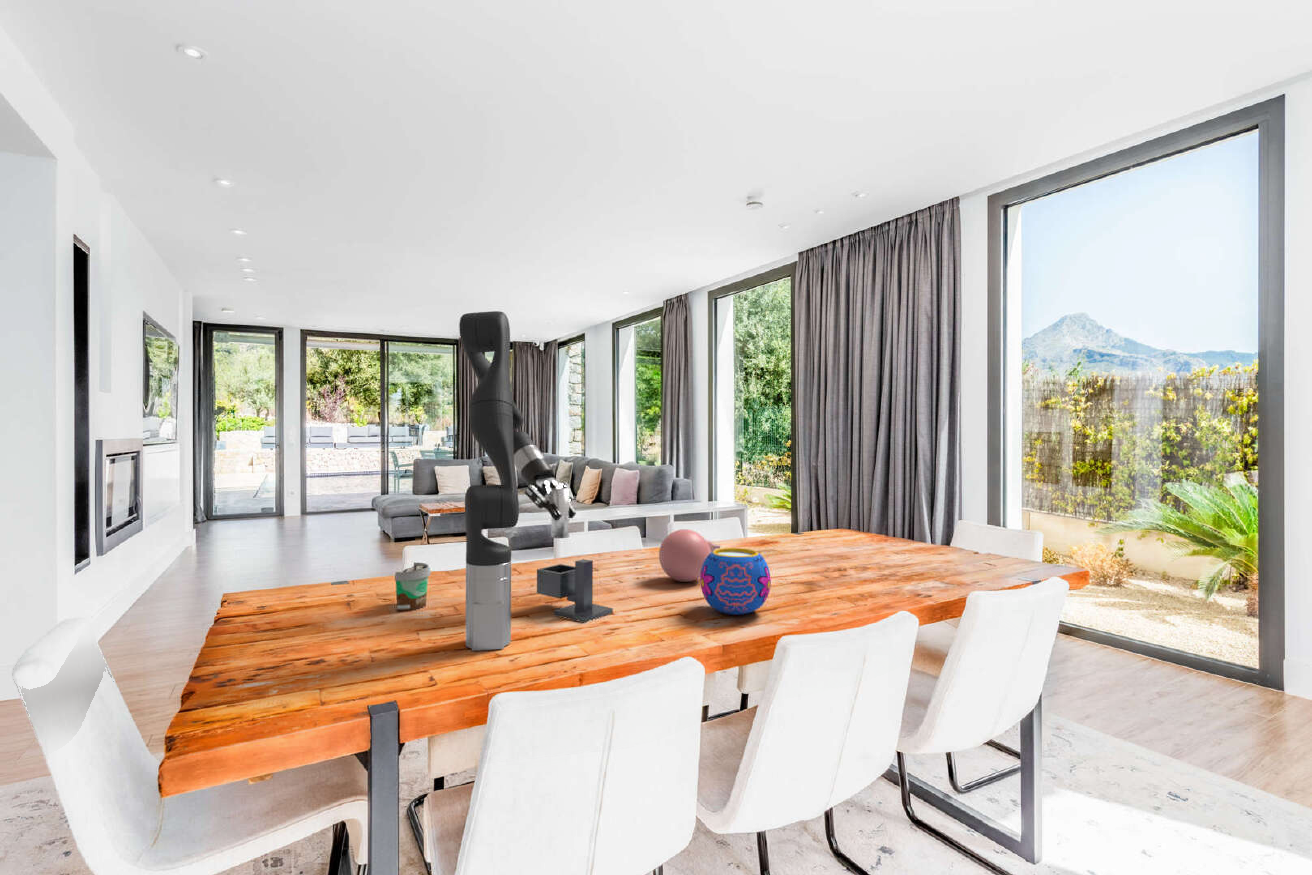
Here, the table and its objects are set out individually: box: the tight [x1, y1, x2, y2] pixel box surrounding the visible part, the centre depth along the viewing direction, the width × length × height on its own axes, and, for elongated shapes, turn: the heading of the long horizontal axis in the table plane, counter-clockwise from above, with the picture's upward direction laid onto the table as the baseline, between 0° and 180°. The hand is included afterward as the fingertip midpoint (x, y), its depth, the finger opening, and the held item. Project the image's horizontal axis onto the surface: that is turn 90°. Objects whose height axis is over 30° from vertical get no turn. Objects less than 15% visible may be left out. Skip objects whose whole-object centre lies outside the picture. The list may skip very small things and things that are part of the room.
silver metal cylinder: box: [550, 488, 570, 539], centre depth 161 cm, size 4×4×12 cm
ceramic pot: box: [699, 547, 772, 616], centre depth 159 cm, size 18×18×15 cm
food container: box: [394, 562, 432, 613], centre depth 162 cm, size 12×6×10 cm, turn 179°
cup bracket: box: [536, 558, 614, 623], centre depth 158 cm, size 17×10×13 cm, turn 54°
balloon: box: [658, 529, 721, 583], centre depth 192 cm, size 15×20×15 cm
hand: (566, 517), depth 160 cm, fingers closed on silver metal cylinder, 4 cm apart
